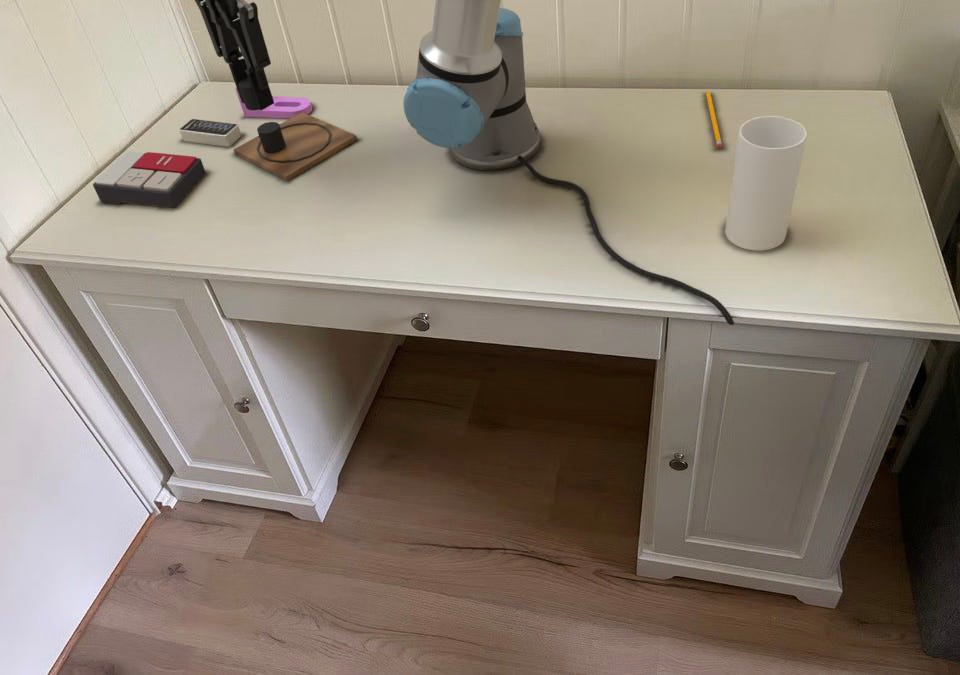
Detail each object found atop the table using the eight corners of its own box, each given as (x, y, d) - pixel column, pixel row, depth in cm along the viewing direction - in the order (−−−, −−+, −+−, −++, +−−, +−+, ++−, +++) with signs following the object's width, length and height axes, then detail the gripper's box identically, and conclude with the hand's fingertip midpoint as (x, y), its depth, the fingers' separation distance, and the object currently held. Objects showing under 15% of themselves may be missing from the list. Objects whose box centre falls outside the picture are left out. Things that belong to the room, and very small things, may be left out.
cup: (749, 257, 108) (766, 155, 96) (713, 227, 113) (725, 127, 102) (798, 238, 109) (821, 136, 98) (760, 209, 115) (778, 109, 104)
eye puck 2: (290, 145, 141) (284, 125, 138) (272, 155, 139) (265, 135, 136) (277, 139, 143) (270, 119, 140) (259, 149, 141) (252, 129, 138)
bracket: (244, 116, 153) (233, 83, 148) (257, 102, 157) (246, 69, 152) (305, 118, 150) (295, 84, 145) (316, 104, 154) (307, 70, 149)
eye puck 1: (274, 102, 129) (267, 79, 127) (255, 112, 127) (247, 89, 125) (260, 96, 131) (253, 74, 129) (241, 106, 129) (233, 84, 127)
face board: (357, 140, 142) (355, 134, 141) (287, 181, 134) (285, 175, 133) (303, 116, 151) (301, 110, 150) (234, 154, 143) (232, 148, 142)
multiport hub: (229, 147, 145) (225, 136, 143) (182, 140, 149) (177, 129, 147) (242, 134, 148) (238, 123, 146) (196, 129, 151) (191, 118, 150)
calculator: (167, 189, 129) (89, 181, 132) (176, 211, 132) (99, 202, 135) (200, 154, 137) (125, 146, 140) (207, 175, 140) (134, 167, 143)
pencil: (717, 149, 128) (717, 145, 127) (705, 95, 141) (706, 91, 140) (722, 149, 127) (722, 145, 127) (710, 95, 140) (710, 91, 140)
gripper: (264, -48, 110) (307, 105, 127) (197, -63, 119) (245, 81, 136) (220, -29, 107) (271, 126, 123) (154, -46, 116) (210, 100, 132)
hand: (257, 102), depth 129 cm, fingers closed on eye puck 1, 4 cm apart
